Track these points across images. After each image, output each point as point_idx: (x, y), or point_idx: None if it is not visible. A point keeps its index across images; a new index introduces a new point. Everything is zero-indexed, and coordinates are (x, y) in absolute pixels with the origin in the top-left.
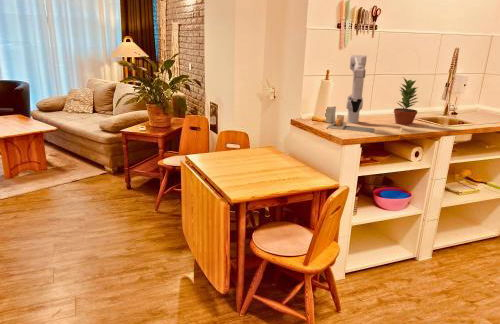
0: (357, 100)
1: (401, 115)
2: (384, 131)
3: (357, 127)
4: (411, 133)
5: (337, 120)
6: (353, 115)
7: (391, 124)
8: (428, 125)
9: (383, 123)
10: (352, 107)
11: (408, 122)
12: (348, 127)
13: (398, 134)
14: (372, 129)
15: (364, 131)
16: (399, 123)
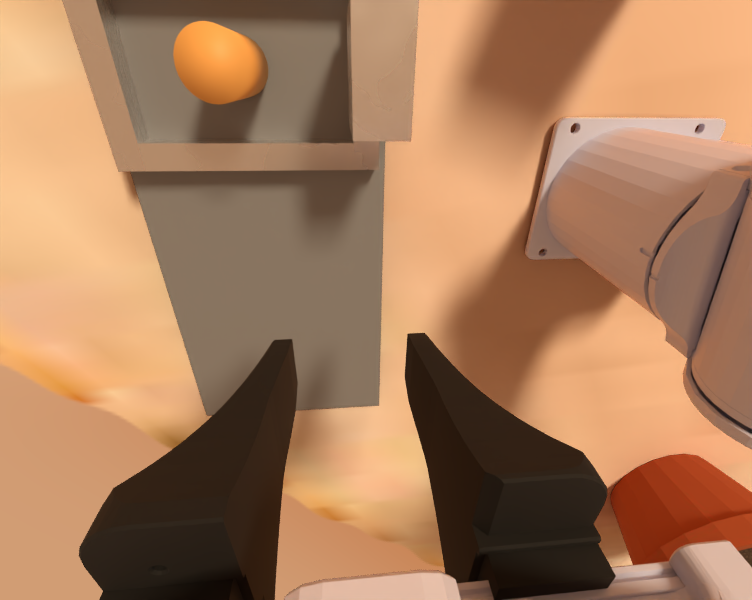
0: (461, 557)
1: (652, 544)
2: (364, 444)
3: (340, 287)
4: (385, 536)
5: (176, 54)
6: (601, 241)
7: (615, 444)
8: (619, 557)
9: (643, 405)
10: (236, 391)
11: (618, 522)
12: (285, 207)
13: (320, 503)
14: (327, 396)
15: (205, 362)
16: (630, 479)
